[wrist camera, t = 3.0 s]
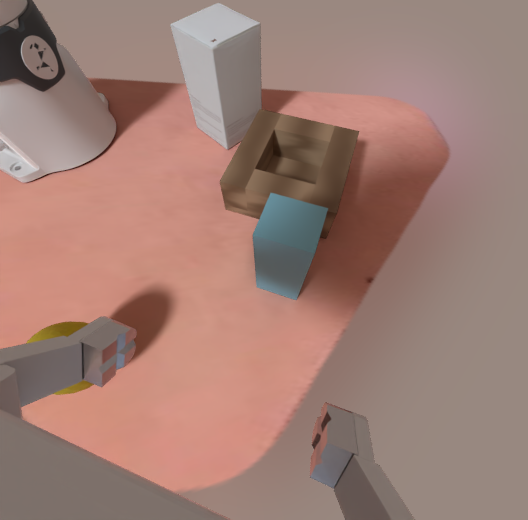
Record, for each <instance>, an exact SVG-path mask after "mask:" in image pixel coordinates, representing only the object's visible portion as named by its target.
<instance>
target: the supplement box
mask: <svg viewBox="0 0 528 520" xmlns="http://www.w3.org/2000/svg"><path fill="white" fill-rule="evenodd" d="M170 26H171V30H172V33H173V37H174V41H175V45H176V48H177V52H178V56H179V60H180V63H181V67H182V71H183V75H184V78H185V82H186V86H187V89H188V93H189V97H190V101H191V104H192V108H193V112H194V116H195V120H196V124H197V127H198V128H199V129H201V130H202V131H203V132H205V133H206V134H207V135H209V136H210V137H211V138H213V139H214V140H215V141H217V142H218V143H219V144H221V145H222V146H223V147H225V148H226V149H230V148H231V147H233V146H234V145H236V144H237V143H239V142H240V141H242V140H243V138H244V136H245V134H246V133H247V131H248V129H249V127H250V125H251V124H252V122H253V120H254V118H255V116H256V114H257V113H258V111H259V109H262V96H261V43H260V42H261V40H260V39H261V37H260V23H259V22H257V21H255V20H253V19H251V18H248V17H247V16H245V15H242V14H240V13H238V12H236V11H234V10H232V9H230V8H228V7H226V6H224V5H222V4H220V3H217V4H214V5H212V6H210V7H207V8H205V9H203V10H200V11H198V12H196V13H194V14H192V15H189V16H187V17H185V18H183V19H181V20H179V21H176V22H174V23H172V24H170Z"/></svg>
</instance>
